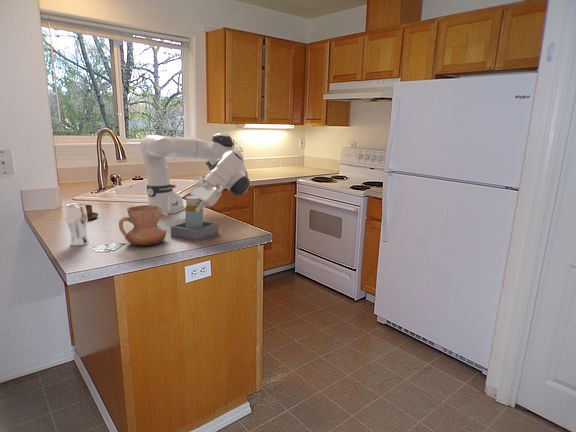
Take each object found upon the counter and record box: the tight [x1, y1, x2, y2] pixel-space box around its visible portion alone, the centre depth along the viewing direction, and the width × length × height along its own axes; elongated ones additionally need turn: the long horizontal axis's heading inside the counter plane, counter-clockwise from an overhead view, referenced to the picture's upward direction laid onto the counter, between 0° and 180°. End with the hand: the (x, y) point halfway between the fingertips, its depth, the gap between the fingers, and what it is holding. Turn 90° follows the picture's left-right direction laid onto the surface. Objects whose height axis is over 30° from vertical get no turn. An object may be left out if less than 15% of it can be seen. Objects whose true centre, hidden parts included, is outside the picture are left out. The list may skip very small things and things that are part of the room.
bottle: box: [184, 195, 204, 230], centre depth 159 cm, size 7×7×15 cm
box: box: [170, 220, 219, 243], centre depth 160 cm, size 14×14×4 cm
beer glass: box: [65, 203, 90, 247], centre depth 146 cm, size 7×7×15 cm
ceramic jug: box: [118, 204, 169, 247], centre depth 148 cm, size 18×14×14 cm
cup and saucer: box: [85, 204, 99, 221], centre depth 184 cm, size 12×12×6 cm
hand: (192, 208), depth 158 cm, fingers closed on bottle, 7 cm apart
